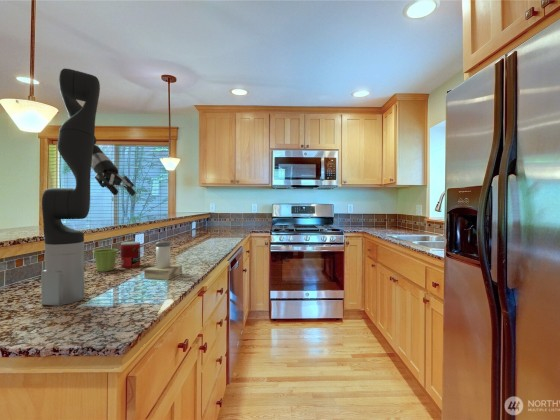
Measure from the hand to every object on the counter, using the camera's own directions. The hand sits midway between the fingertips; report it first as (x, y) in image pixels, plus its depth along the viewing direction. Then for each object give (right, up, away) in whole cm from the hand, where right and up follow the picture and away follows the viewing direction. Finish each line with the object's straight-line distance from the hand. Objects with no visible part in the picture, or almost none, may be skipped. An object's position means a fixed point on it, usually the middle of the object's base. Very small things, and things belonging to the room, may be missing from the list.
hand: (125, 194), depth 113 cm
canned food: (-7, -33, +16) cm, 37 cm away
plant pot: (-13, -33, +8) cm, 36 cm away
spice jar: (+15, -29, 0) cm, 33 cm away
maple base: (+16, -33, 0) cm, 36 cm away
